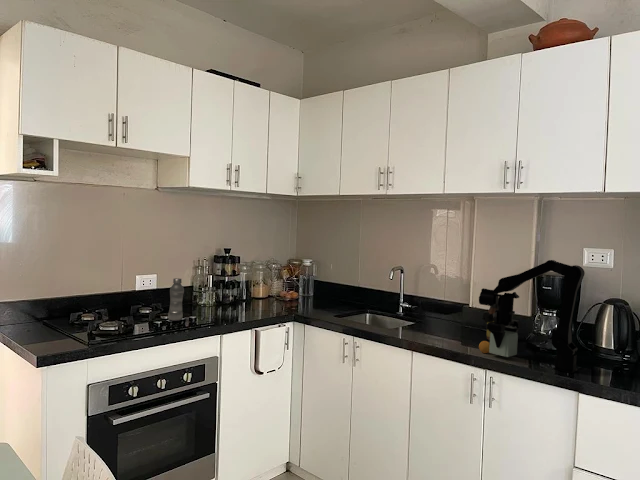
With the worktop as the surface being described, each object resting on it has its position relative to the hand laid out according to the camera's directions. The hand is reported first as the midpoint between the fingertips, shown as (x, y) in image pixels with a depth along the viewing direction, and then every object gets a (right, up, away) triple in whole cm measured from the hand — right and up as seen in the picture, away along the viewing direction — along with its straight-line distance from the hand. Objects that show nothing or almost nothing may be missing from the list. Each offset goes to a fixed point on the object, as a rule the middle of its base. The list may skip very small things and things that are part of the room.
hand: (502, 346), depth 201 cm
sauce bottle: (+7, -4, +33) cm, 34 cm away
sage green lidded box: (0, -3, 0) cm, 3 cm away
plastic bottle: (-143, +5, +34) cm, 147 cm away
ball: (-5, -2, +6) cm, 8 cm away
